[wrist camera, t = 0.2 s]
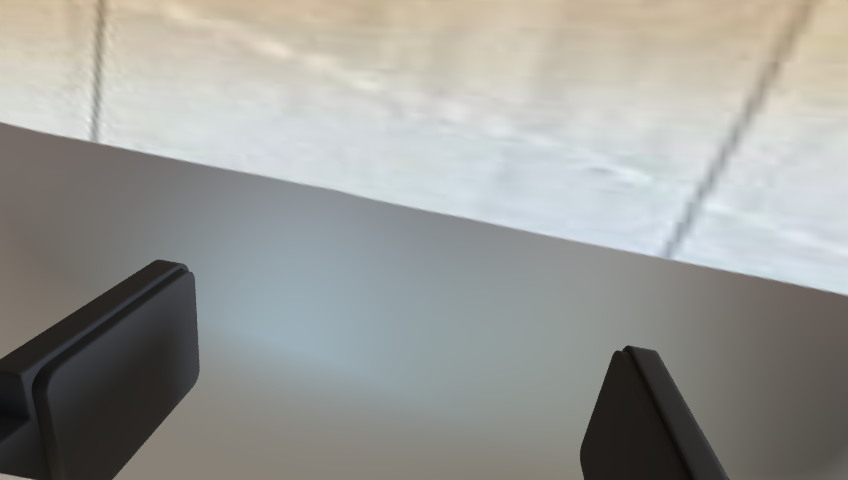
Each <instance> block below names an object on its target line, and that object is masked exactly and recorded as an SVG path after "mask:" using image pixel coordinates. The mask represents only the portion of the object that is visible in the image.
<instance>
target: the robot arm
mask: <svg viewBox="0 0 848 480" xmlns="http://www.w3.org/2000/svg"><path fill="white" fill-rule="evenodd" d="M198 375H199V350H198V331H197V312H196V294H195V278H194V275H193V273H192V272H189V271H188V268H187V266H186V265H184V264H181V263H176V262H170V261H165V260H156V261H154V262H152V263H151V264H149V265H147V266H146V267H144V268H143V269H141V270H140V271H138V272H136V273H135V274H133V275H132V276H130V277H129V278H127V279H126V280H124V281H122V282H121V283H119V284H118V285H116V286H114V287H113V288H111V289H110V290H108V291H107V292H105V293H103V294H102V295H101V296H99V297H97V298H96V299H94V300H93V301H91V302H89V303H88V304H87V305H85V306H83V307H82V308H80V309H78V310H77V311H75V312H74V313H72V314H71V315H69V316H68V317H66V318H64V319H63V320H61V321H60V322H58V323H57V324H55V325H54V326H52V327H50V328H49V329H47V330H46V331H44V332H42V333H41V334H39V335H38V336H36V337H35V338H33V339H32V340H30V341H28V342H27V343H25V344H24V345H22V346H20V347H19V348H17V349H16V350H14V351H13V352H11V353H10V354H8V355H7V356H5V357H3V358H2V359H0V480H112V479H113V478H114V477H115V476H116V475H117V474H118V472H119V471H120V470H121V469H122V468H123V466H125V464H126V463H127V462H128V461H129V460H130V459H131V458H132V456H133V455H134V454H135V453H136V452H137V450H138V449H139V448H140V447H141V446H142V445H143V444H144V442H145V441H146V440H147V439H148V438H149V437H150V436H151V435H152V433H153V432H154V431H155V430H156V429H157V428H158V426H159V425H160V424H161V423H162V422H163V421H164V419H165V418H166V417H167V416H168V415H169V414H170V413H171V411H172V410H173V409H174V408H175V407H176V406H177V405H178V403H179V402H180V401H181V400H182V399H183V398H184V396H185V395H186V394H187V393H188V392H189V391H190V390H191V388H192V387H193V386H194V385H195V383H196V381H197V379H198ZM580 462H581V467H582V472H583V476H584V480H729V478H728V476H727V475H726V473H725V471H724V469H723V467H722V466H721V464H720V462H719V460H718V458H717V457H716V455H715V453H714V451H713V450H712V448H711V446H710V444H709V442H708V441H707V439H706V437H705V436H704V434H703V432H702V430H701V429H700V428H699V425H698V424H697V422H696V420H695V418H694V417H693V415H692V413H691V411H690V409H689V408H688V406H687V404H686V402H685V401H684V399H683V397H682V395H681V393H680V392H679V390H678V388H677V386H676V385H675V383H674V381H673V379H672V377H671V376H670V374H669V372H668V370H667V368H666V367H665V365H664V363H663V361H662V360H661V358H660V356H659V354H658V353H657V352H656V351H654V350H650V349H644V348H639V347H633V346H626V347H625V348H624V349H623V351H615V353H614V354H613V356H612V359H611V362H610V365H609V368H608V370H607V373H606V376H605V379H604V382H603V385H602V388H601V391H600V393H599V396H598V399H597V402H596V405H595V408H594V411H593V413H592V416H591V419H590V422H589V425H588V428H587V431H586V434H585V437H584V439H583V442H582V445H581V450H580Z"/></svg>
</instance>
